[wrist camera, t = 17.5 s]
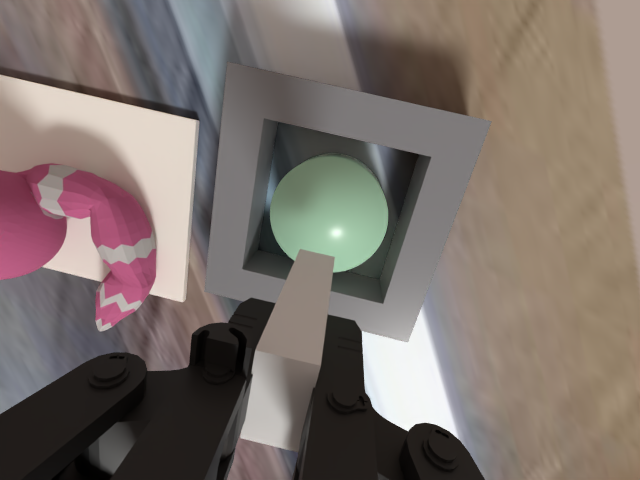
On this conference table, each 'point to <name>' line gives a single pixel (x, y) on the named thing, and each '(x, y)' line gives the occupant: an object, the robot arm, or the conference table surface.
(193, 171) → the paper sheet
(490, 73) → the conference table surface
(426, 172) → the button housing
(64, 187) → the toy
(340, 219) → the button
